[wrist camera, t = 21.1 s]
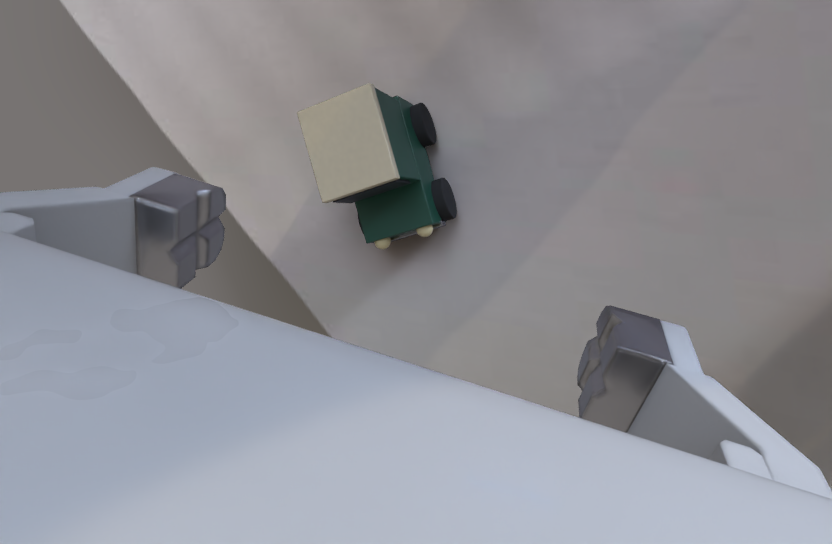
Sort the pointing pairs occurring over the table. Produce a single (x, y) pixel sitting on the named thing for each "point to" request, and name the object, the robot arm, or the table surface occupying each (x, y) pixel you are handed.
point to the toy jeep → (378, 163)
